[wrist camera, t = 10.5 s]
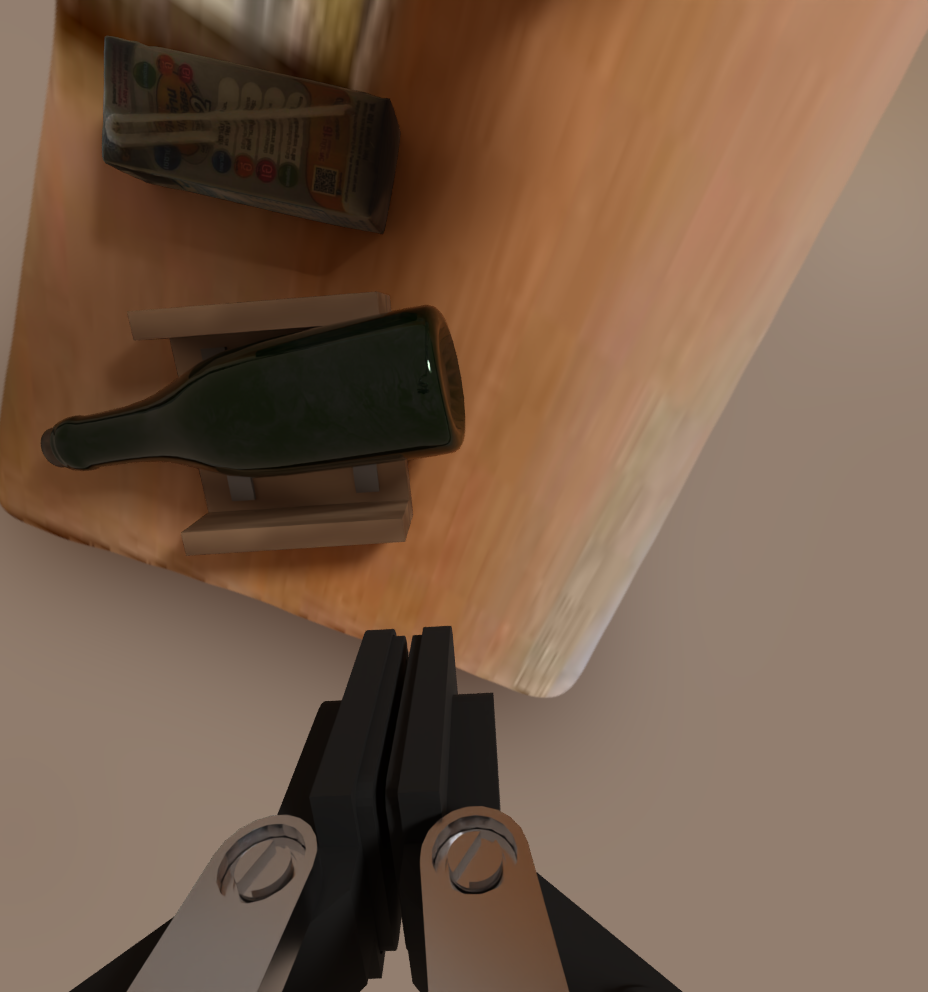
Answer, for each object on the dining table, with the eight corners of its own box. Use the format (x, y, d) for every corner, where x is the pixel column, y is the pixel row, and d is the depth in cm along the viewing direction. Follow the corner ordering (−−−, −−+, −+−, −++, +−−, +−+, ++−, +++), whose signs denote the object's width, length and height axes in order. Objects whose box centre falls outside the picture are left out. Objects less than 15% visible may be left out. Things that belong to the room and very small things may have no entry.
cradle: (173, 312, 46) (126, 311, 40) (389, 295, 45) (376, 291, 39) (220, 527, 52) (186, 555, 45) (413, 514, 51) (405, 541, 45)
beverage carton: (149, 66, 41) (91, 19, 35) (406, 125, 42) (395, 90, 36) (146, 185, 43) (91, 162, 37) (389, 238, 44) (376, 225, 38)
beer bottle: (438, 275, 39) (44, 357, 45) (428, 354, 32) (-41, 440, 38) (469, 395, 47) (127, 453, 52) (467, 482, 39) (69, 538, 45)
